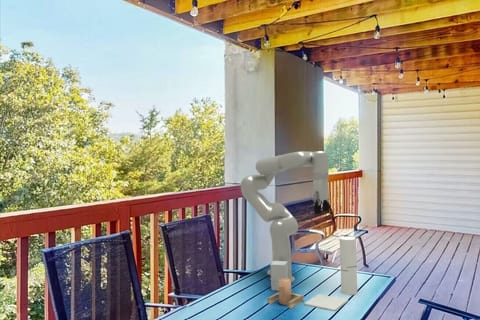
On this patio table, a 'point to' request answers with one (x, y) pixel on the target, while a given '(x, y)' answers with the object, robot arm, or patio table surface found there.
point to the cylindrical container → (348, 265)
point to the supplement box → (278, 273)
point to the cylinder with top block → (284, 290)
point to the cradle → (294, 301)
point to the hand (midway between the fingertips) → (321, 212)
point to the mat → (326, 302)
